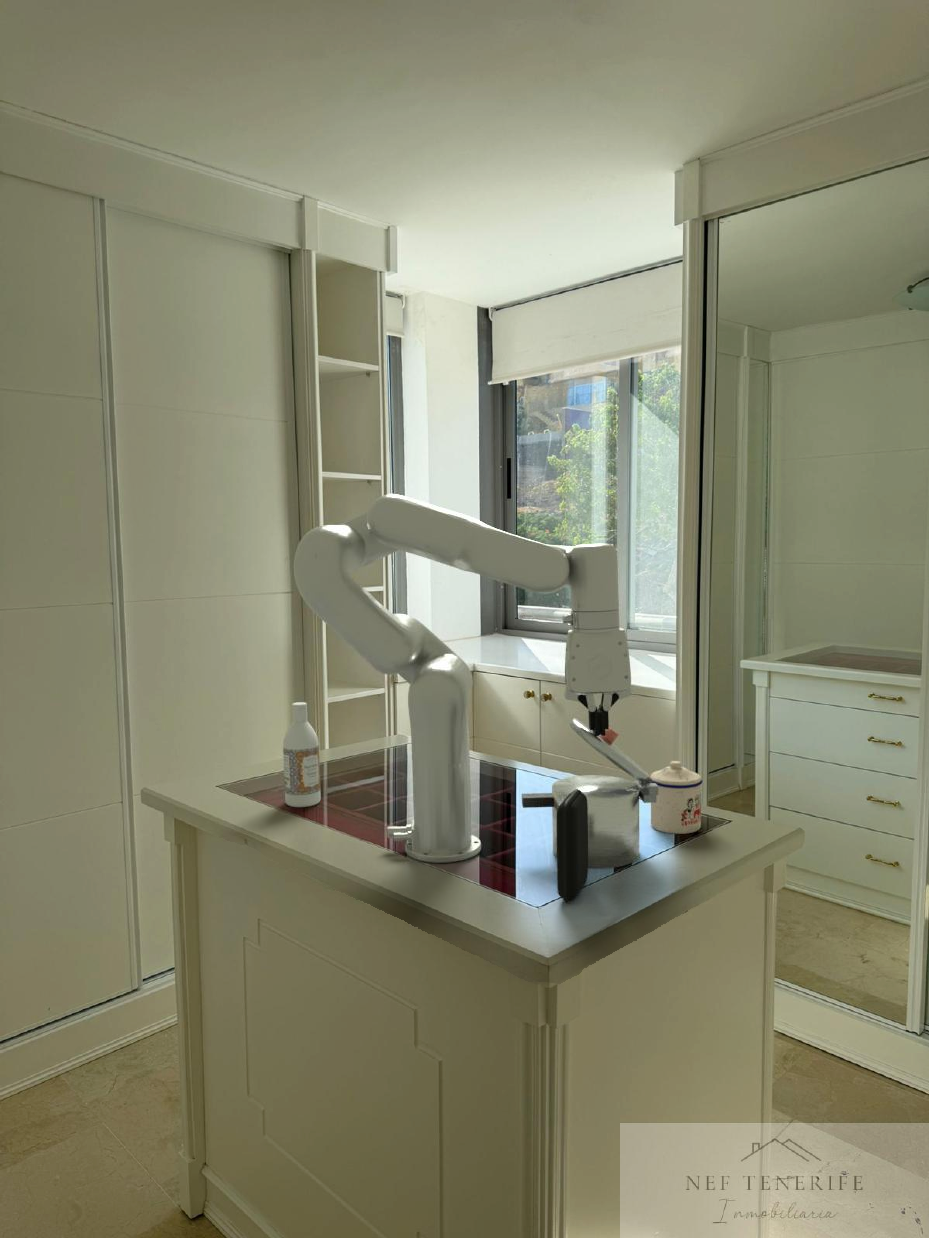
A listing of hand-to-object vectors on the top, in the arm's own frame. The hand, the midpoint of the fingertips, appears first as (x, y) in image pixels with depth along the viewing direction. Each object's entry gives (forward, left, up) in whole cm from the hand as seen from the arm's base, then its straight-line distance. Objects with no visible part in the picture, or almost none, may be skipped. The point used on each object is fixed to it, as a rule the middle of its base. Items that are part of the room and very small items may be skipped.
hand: (599, 733), depth 144 cm
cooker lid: (+2, 0, -3) cm, 4 cm away
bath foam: (-54, +32, -20) cm, 66 cm away
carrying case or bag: (-6, -16, -20) cm, 26 cm away
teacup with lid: (+16, +13, -20) cm, 29 cm away
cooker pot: (-2, 0, -20) cm, 20 cm away
